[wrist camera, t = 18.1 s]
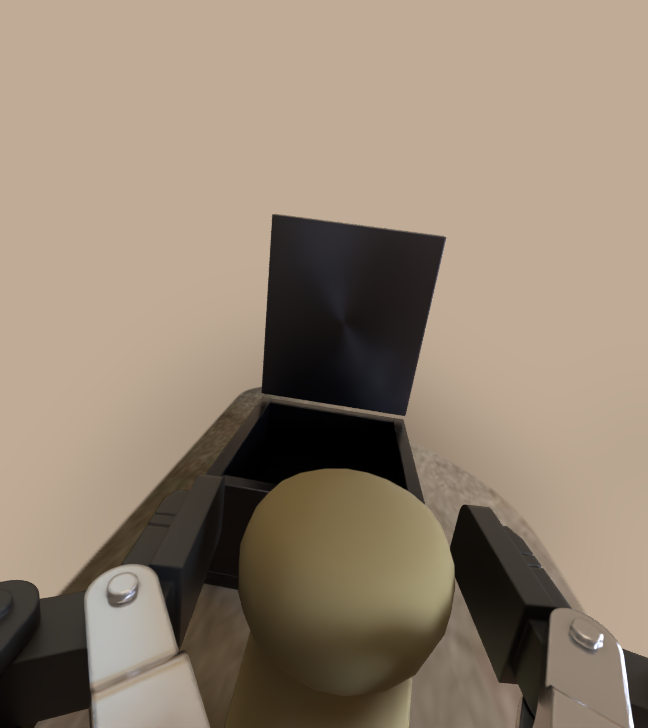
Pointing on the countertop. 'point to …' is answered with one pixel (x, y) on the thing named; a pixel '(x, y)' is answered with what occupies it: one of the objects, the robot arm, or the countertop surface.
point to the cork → (338, 602)
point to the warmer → (299, 462)
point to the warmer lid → (347, 312)
